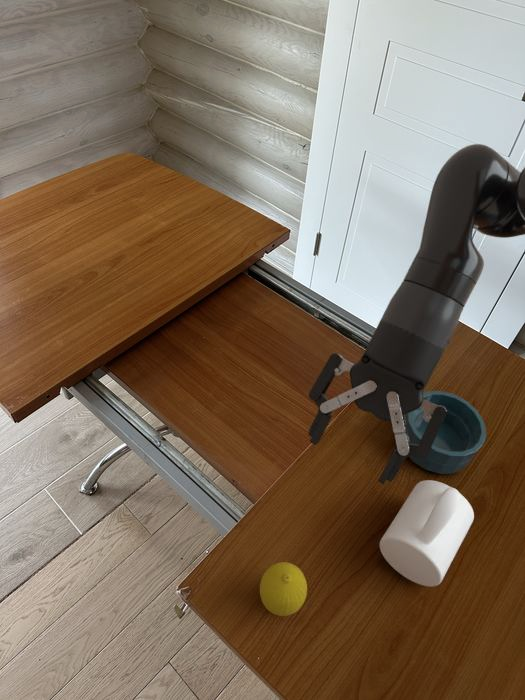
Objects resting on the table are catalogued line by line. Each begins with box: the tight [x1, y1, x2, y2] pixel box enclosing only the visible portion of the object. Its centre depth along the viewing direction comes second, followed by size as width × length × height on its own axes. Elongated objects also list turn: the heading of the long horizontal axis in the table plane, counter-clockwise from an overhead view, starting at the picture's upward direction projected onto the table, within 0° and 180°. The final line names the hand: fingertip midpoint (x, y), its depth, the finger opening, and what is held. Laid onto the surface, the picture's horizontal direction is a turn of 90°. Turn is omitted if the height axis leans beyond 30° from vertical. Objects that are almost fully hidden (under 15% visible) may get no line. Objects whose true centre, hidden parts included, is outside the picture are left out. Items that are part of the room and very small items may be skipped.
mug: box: [379, 479, 475, 588], centre depth 65 cm, size 8×10×12 cm
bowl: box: [405, 390, 487, 475], centre depth 78 cm, size 11×12×6 cm
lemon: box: [259, 561, 308, 617], centre depth 61 cm, size 6×6×8 cm
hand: (347, 461), depth 58 cm, fingers open, 8 cm apart
